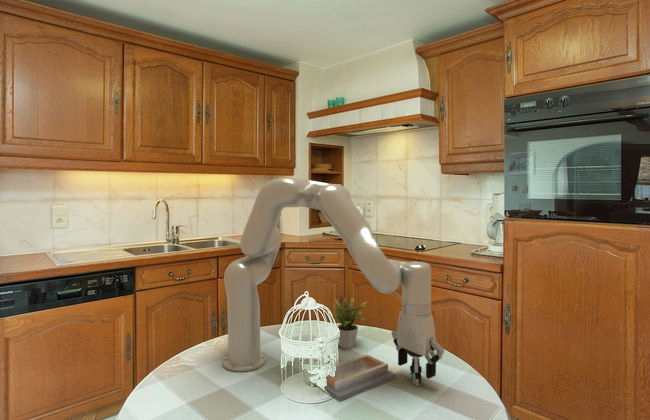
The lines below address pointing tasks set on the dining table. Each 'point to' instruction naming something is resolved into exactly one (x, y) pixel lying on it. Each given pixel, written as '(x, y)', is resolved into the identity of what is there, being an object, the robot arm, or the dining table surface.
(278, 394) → the dining table surface
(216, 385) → the dining table surface
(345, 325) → the house plant
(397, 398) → the dining table surface
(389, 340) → the dining table surface
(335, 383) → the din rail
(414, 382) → the round cylindrical fitting
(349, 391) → the panel
